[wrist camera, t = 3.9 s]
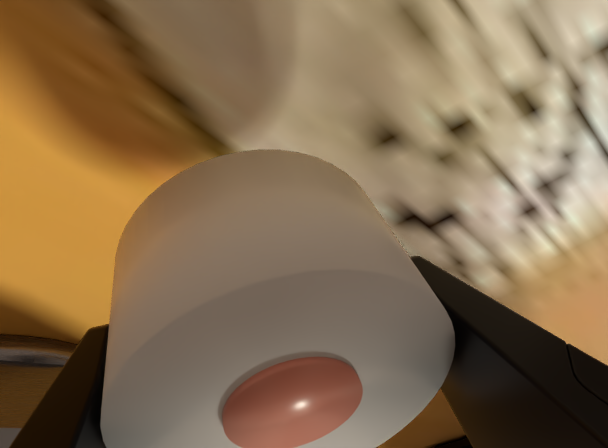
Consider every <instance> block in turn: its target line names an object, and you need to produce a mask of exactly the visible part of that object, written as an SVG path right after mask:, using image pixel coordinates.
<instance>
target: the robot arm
mask: <svg viewBox="0 0 608 448" xmlns="http://www.w3.org/2000/svg"><path fill="white" fill-rule="evenodd" d="M410 259H411V260H412V262H413V263H414V264H415V266H416V267H417V269H418V270H419V272H420V273H421V275H422V276H423V278H424V279H425V280H426V282H427V283H428V285H429V286H430V288H431V289H432V291H433V292H434V294H435V295H436V296H437V298H438V299H439V301H440V302H441V304H442V305H443V307H444V308H445V310H446V312H447V313H448V315H449V317H450V319H451V321H452V325H453V329H454V332H455V351H454V357H453V361H452V364H451V367H450V370H449V373H448V374H447V376H446V378H445V380H444V382H443V384H442V386H441V387H440V388H441V390H442V392H443V393H444V395H445V397H446V399H447V401H448V403H449V404H450V406H451V408H452V410H453V412H454V414H455V415H456V417H457V419H458V421H459V423H460V425H461V426H462V428H463V430H464V432H465V434H466V435H467V437H468V438H466V439H462V440H459V441H456V442H453V443H450V444H446V445H443V446H440V447H437V448H608V365H606V364H604V363H602V362H600V361H599V360H597V359H595V358H593V357H591V356H590V355H588V354H586V353H584V352H583V351H581V350H579V349H578V348H576V347H574V346H572V345H571V344H566V342H565V341H564V340H562V339H560V338H559V337H557V336H555V335H553V334H552V333H550V332H548V331H547V330H545V329H543V328H541V327H540V326H538V325H536V324H535V323H533V322H531V321H529V320H528V319H526V318H524V317H523V316H521V315H519V314H518V313H516V312H514V311H512V310H511V309H509V308H507V307H506V306H504V305H502V304H500V303H499V302H497V301H495V300H494V299H492V298H490V297H488V296H487V295H485V294H483V293H482V292H480V291H478V290H477V289H475V288H473V287H471V286H470V285H468V284H466V283H465V282H463V281H461V280H459V279H458V278H456V277H454V276H453V275H451V274H449V273H447V272H446V271H444V270H442V269H441V268H439V267H437V266H435V265H434V264H432V263H430V262H429V261H427V260H425V259H424V258H422V257H420V256H412V257H410ZM108 332H109V324H106V325H102V326H97V327H93V328H90V329H89V330H88V331H87V332H86V334H85V335H84V337H83V338H82V340H81V341H80V343H79V344H78V346H77V347H76V349H75V350H74V351H73V353H72V354H71V356H70V357H69V359H68V360H67V362H66V363H65V365H64V366H63V368H62V369H61V371H60V372H59V374H58V375H57V377H56V378H55V380H54V381H53V383H52V384H51V386H50V387H49V389H48V390H47V392H46V393H45V395H44V396H43V398H42V399H41V400H40V402H39V403H38V405H37V406H36V408H35V409H34V411H33V412H32V414H31V415H30V417H29V418H28V420H27V421H26V423H25V424H24V426H23V427H22V429H21V430H20V432H19V433H18V435H17V436H16V438H15V439H14V441H13V442H12V444H11V445H10V447H9V448H106V446H105V444H104V442H103V438H102V433H101V427H100V423H101V407H102V397H103V386H104V375H105V364H106V354H107V343H108Z"/></svg>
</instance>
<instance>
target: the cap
mask: <svg viewBox="0 0 608 448" xmlns="http://www.w3.org/2000/svg"><path fill="white" fill-rule="evenodd" d="M454 351H455V332H454V329H453V325H452V321H451V319H450V317H449V315H448V313H447V312H446V310H445V308H444V307H443V305H442V304H441V302H440V301H439V299H438V298H437V296H436V295H435V294H434V292H433V291H432V289H431V288H430V286H429V285H428V283H427V282H426V280H425V279H424V278H423V276H422V275H421V273H420V272H419V270H418V269H417V267H416V266H415V264H414V263H413V262H412V260H411V259H410V257H409V256H408V254H407V253H406V251H405V250H404V248H403V247H402V246H401V244H400V243H399V241H398V240H397V238H396V237H395V235H394V234H393V232H392V231H391V230H390V228H389V227H388V225H387V224H386V222H385V221H384V219H383V218H382V216H381V215H380V214H379V212H378V211H377V209H376V208H375V206H374V205H373V203H372V202H371V201H370V199H369V198H368V196H367V195H366V193H365V192H364V191H363V190H362V188H361V187H360V186H359V185H358V184H357V182H356V181H354V180H353V179H352V178H351V177H350V176H349V175H347V174H346V173H345V172H344V171H342V170H340V169H339V168H337V167H336V166H334V165H332V164H330V163H328V162H326V161H323V160H321V159H319V158H316V157H313V156H309V155H306V154H302V153H299V152H291V151H284V150H251V151H242V152H236V153H231V154H227V155H223V156H218V157H215V158H213V159H210V160H207V161H204V162H201V163H199V164H196V165H194V166H192V167H190V168H188V169H186V170H184V171H182V172H180V173H179V174H177V175H176V176H174V177H173V178H171V179H170V180H168V181H166V182H165V183H163V184H162V185H161V186H160V187H159V188H157V189H156V190H155V191H154V192H153V193H152V194H150V195H149V196H148V197H147V198H146V199H145V201H144V202H143V203H142V204H141V205H140V206H139V207H138V209H137V210H136V211H135V212H134V214H133V215H132V217H131V219H130V220H129V222H128V223H127V225H126V227H125V229H124V231H123V233H122V236H121V238H120V240H119V244H118V248H117V252H116V257H115V268H114V279H113V290H112V300H111V311H110V322H109V332H108V343H107V354H106V364H105V375H104V386H103V397H102V407H101V423H100V427H101V433H102V438H103V442H104V444H105V446H106V448H376V447H378V446H379V445H381V444H382V443H384V442H385V441H387V440H388V439H390V438H391V437H392V436H394V435H395V434H397V433H398V432H399V431H400V430H402V429H403V428H404V427H405V426H406V425H408V424H409V423H410V422H411V421H412V420H413V419H414V418H415V417H416V416H417V415H418V414H419V413H420V412H421V411H422V410H423V409H424V408H425V407H426V406H427V405H428V403H429V402H430V401H431V400H432V399H433V398H434V396H435V395H436V393H437V392H438V390H439V389H440V387H441V386H442V384H443V382H444V380H445V378H446V376H447V374H448V373H449V370H450V367H451V364H452V361H453V357H454Z"/></svg>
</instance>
